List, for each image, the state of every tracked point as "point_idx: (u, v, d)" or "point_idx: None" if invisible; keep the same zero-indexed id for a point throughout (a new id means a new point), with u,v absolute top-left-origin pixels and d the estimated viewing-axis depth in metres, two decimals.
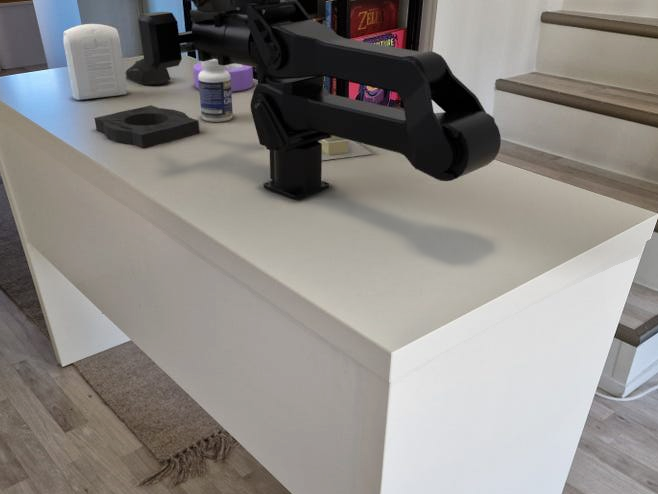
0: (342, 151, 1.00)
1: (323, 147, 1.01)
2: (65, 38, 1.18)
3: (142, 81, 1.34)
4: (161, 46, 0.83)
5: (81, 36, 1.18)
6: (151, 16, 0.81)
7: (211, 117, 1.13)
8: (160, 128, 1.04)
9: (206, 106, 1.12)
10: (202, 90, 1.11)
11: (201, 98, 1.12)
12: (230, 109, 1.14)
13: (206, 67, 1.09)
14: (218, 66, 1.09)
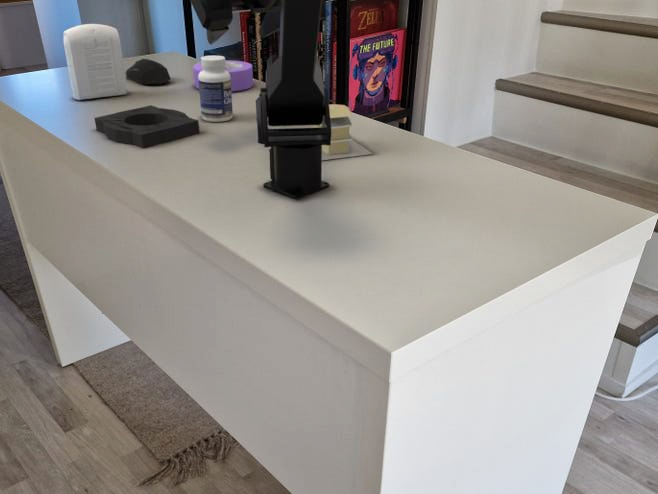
0: (342, 151, 1.00)
1: (323, 147, 1.01)
2: (65, 38, 1.18)
3: (142, 81, 1.34)
4: None
5: (81, 36, 1.18)
6: None
7: (211, 117, 1.13)
8: (160, 128, 1.04)
9: (206, 106, 1.12)
10: (202, 90, 1.11)
11: (201, 98, 1.12)
12: (230, 109, 1.14)
13: (206, 67, 1.09)
14: (218, 66, 1.09)
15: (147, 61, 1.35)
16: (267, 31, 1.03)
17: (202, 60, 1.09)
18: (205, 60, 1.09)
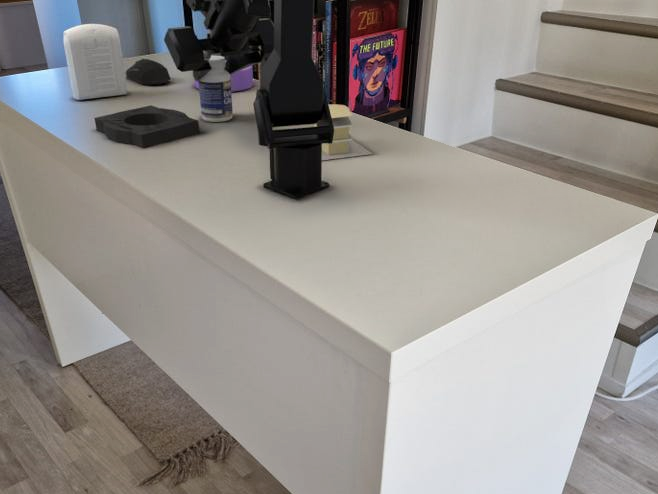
0: (342, 151, 1.00)
1: (323, 147, 1.01)
2: (65, 38, 1.18)
3: (142, 81, 1.34)
4: (182, 43, 1.00)
5: (81, 36, 1.18)
6: (169, 28, 1.00)
7: (211, 117, 1.13)
8: (160, 128, 1.04)
9: (206, 106, 1.12)
10: (202, 90, 1.11)
11: (201, 98, 1.12)
12: (230, 109, 1.14)
13: None
14: (218, 66, 1.09)
15: (147, 61, 1.35)
16: (230, 71, 1.12)
17: None
18: None
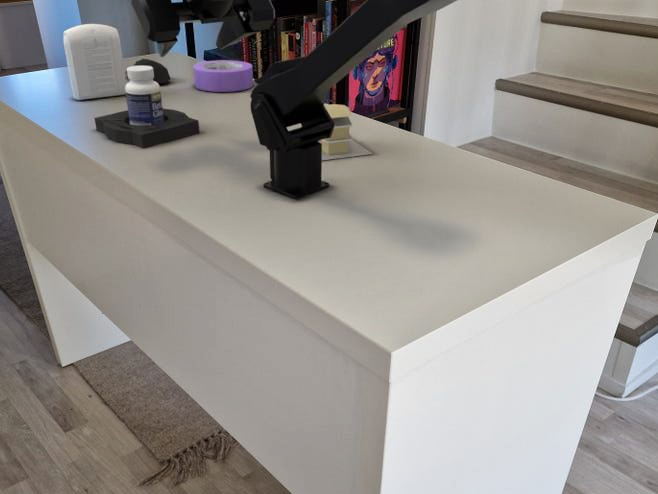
0: (342, 151, 1.00)
1: (323, 147, 1.01)
2: (65, 38, 1.18)
3: None
4: (152, 6, 0.82)
5: (81, 36, 1.18)
6: None
7: None
8: (160, 128, 1.04)
9: (134, 120, 1.05)
10: (129, 102, 1.04)
11: (129, 111, 1.05)
12: (161, 122, 1.07)
13: (132, 78, 1.02)
14: (145, 77, 1.02)
15: (147, 61, 1.35)
16: (224, 42, 0.96)
17: (128, 71, 1.02)
18: (131, 71, 1.02)
